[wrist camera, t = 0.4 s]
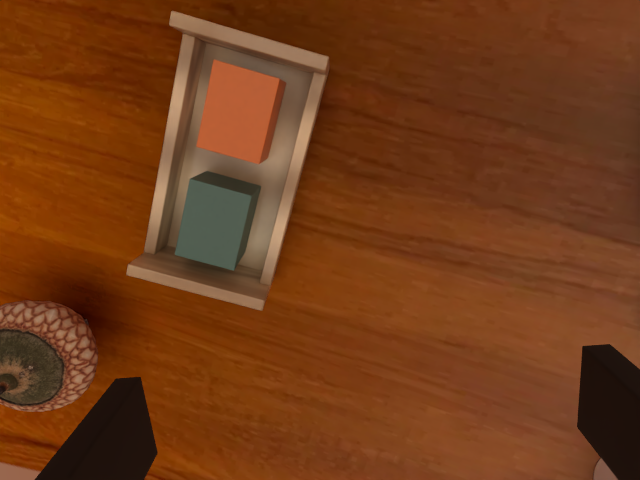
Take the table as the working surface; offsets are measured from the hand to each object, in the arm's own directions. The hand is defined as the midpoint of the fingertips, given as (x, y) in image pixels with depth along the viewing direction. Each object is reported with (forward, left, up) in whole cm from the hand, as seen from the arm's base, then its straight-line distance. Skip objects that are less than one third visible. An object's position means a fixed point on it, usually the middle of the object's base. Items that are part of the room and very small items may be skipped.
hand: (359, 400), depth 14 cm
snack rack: (0, -9, -21) cm, 23 cm away
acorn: (+18, -13, -22) cm, 31 cm away
